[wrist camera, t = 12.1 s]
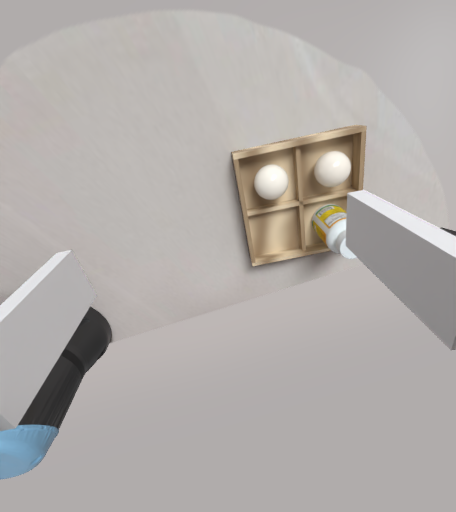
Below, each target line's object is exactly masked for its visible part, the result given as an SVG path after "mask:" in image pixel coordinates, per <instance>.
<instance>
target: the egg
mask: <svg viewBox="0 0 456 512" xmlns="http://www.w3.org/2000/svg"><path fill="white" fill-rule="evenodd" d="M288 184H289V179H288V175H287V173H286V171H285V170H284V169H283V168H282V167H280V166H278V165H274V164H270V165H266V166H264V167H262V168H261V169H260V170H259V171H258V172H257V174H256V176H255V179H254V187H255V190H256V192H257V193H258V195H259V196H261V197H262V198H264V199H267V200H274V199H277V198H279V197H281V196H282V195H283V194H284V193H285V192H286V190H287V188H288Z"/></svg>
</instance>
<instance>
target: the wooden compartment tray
mask: <svg viewBox="0 0 456 512" xmlns="http://www.w3.org/2000/svg"><path fill="white" fill-rule="evenodd" d="M365 143H366V126H362V125H353V126H348V127H344V128H339V129H334V130H330V131H325V132H321V133H316V134H312V135H307V136H303V137H298V138H293V139H289V140H284V141H280V142H275V143H271V144H266V145H262V146H257V147H252V148H248V149H243V150H239V151H234V152H231V153H232V159H233V164H234V170H235V175H236V181H237V187H238V192H239V198H240V203H241V209H242V214H243V220H244V226H245V231H246V237H247V242H248V248H249V254H250V259H251V262H252V266H257V265H262V264H267V263H272V262H277V261H282V260H287V259H292V258H297V257H302V256H307V255H312V254H317V253H322V252H327V251H331V250H330V249H329V248H328V246H327V245H326V244H325V243H324V242H323V240H322V239H321V238H320V237H319V236H318V234H317V233H316V232H315V231H314V229H313V227H312V223H311V221H312V217H313V215H314V213H315V212H316V211H317V210H318V209H319V208H320V207H322V206H324V205H327V204H334V205H337V206H339V207H341V208H342V209H343V210H345V211H346V212H347V193H350V192H355V191H360V190H363V178H364V160H365ZM330 151H339V152H342V153H344V154H345V155H346V156H347V157H348V158H349V160H350V163H351V171H350V174H349V176H348V178H347V179H346V180H345V181H344V182H343V183H342V184H340V185H338V186H336V187H325V186H323V185H321V184H320V183H319V182H318V181H317V180H316V178H315V175H314V167H315V164H316V162H317V160H318V159H319V158H320V157H321V156H322V155H323V154H325V153H327V152H330ZM270 164H274V165H278V166H280V167H282V168H283V169H284V170H285V171H286V173H287V175H288V179H289V184H288V188H287V190H286V192H285V193H284V194H283V195H282V196H281V197H279V198H277V199H274V200H267V199H264V198H262V197H261V196H259V195H258V193H257V192H256V190H255V187H254V179H255V176H256V174H257V172H258V171H259V170H260V169H261V168H262V167H264V166H266V165H270Z"/></svg>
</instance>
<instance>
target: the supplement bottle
mask: <svg viewBox="0 0 456 512" xmlns="http://www.w3.org/2000/svg"><path fill="white" fill-rule="evenodd" d="M346 217H347V212H346V211H345V210H343V209H342V208H341V207H339V206H337V205H334V204H327V205H324V206H322V207H320V208H319V209H318V210H317V211H316V212H315V213H314V215H313V217H312V221H311V223H312V227H313V229H314V231H315V232H316V233H317V234H318V236H319V237H320V238H321V239H322V240H323V242H324V243H325V244H326V245H327V246H328V248H329V249H330V250H331V251H333V252H335V253H338V254H341V255H342V256H343V257H345V258H347V259H355V258H357V257H356V256H355V255H354V254H353V253H352V252H351V251H350V250H349V249H348V248H347V247H346Z"/></svg>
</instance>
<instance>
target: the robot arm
mask: <svg viewBox="0 0 456 512" xmlns="http://www.w3.org/2000/svg"><path fill="white" fill-rule="evenodd" d="M346 247H347V248H348V249H349V250H350V251H351V252H352V253H353V254H354V255H355V256H356V257H357V258H358V259H359V260H360V261H361V262H362V263H363V264H364V265H365V266H367V268H368V269H370V270H371V271H372V272H373V274H375V275H376V276H377V277H378V278H379V279H380V280H381V281H382V282H383V283H384V284H385V285H386V286H387V287H388V288H389V289H390V290H391V291H392V292H393V293H394V294H395V295H396V296H397V297H398V298H399V299H400V300H401V301H402V302H403V303H404V304H405V305H406V306H407V307H408V308H409V309H410V310H411V311H412V312H413V313H414V314H415V315H416V316H417V317H418V318H419V319H420V320H421V321H422V322H423V323H424V324H425V325H426V326H427V327H428V328H429V329H430V330H431V331H432V332H433V333H434V334H435V335H436V336H437V337H438V338H439V339H440V340H441V341H442V342H443V343H444V344H445V345H446V346H447V347H448V348H449V349H450V350H455V349H456V231H452V230H449V229H445V228H438V227H436V226H434V225H432V224H431V223H429V222H427V221H425V220H423V219H421V218H419V217H417V216H415V215H413V214H411V213H409V212H407V211H405V210H403V209H401V208H399V207H397V206H395V205H393V204H391V203H389V202H387V201H385V200H383V199H381V198H379V197H378V196H376V195H374V194H372V193H370V192H368V191H366V190H360V191H355V192H350V193H347V217H346ZM96 296H97V294H96V292H95V290H94V288H93V287H92V285H91V283H90V281H89V279H88V278H87V276H86V274H85V272H84V270H83V269H82V267H81V265H80V263H79V261H78V260H77V258H76V256H75V254H74V252H73V251H72V250H69V251H64V252H59V253H56V254H55V255H54V256H53V257H52V258H51V259H50V260H49V261H48V262H46V263H45V264H44V265H43V266H42V267H41V268H40V269H39V270H38V271H37V272H36V273H35V274H34V275H32V276H31V277H30V278H29V279H28V280H27V281H26V282H25V283H24V284H23V285H22V286H21V287H20V288H18V289H17V290H16V291H15V292H14V293H13V294H12V295H11V296H10V297H9V298H8V299H7V300H6V301H4V302H3V303H2V304H1V305H0V479H7V478H11V477H15V476H19V475H21V474H24V473H26V472H28V471H30V470H32V469H33V468H34V467H36V466H37V465H38V464H39V463H40V462H41V461H42V459H43V458H44V456H45V455H46V453H47V451H48V449H49V447H50V446H51V444H52V442H53V440H54V438H55V437H56V436H57V434H58V432H59V428H60V426H61V424H62V421H63V419H64V417H65V415H66V413H67V411H68V409H69V406H70V404H71V402H72V400H73V398H74V396H75V393H76V391H77V389H78V387H79V385H80V383H81V380H82V378H83V376H84V374H85V373H86V372H87V371H88V370H89V369H90V368H91V367H92V366H93V365H94V363H95V362H96V361H97V360H98V359H99V358H100V357H101V356H102V355H103V354H104V353H105V351H106V349H107V347H108V345H109V343H110V340H111V329H110V326H109V324H108V322H107V321H106V319H105V318H104V317H103V316H102V315H101V314H100V313H99V312H97V311H96V310H94V309H93V308H91V307H90V306H91V304H92V303H93V301H94V299H95V298H96Z"/></svg>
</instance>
